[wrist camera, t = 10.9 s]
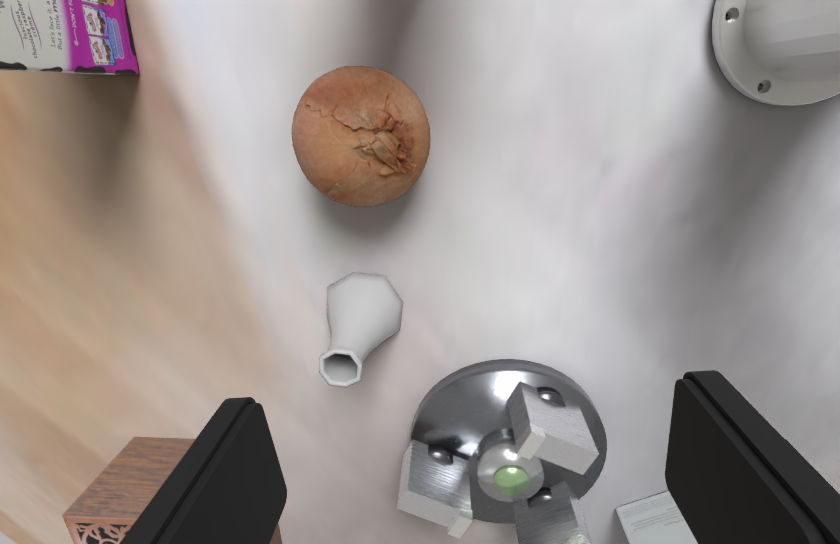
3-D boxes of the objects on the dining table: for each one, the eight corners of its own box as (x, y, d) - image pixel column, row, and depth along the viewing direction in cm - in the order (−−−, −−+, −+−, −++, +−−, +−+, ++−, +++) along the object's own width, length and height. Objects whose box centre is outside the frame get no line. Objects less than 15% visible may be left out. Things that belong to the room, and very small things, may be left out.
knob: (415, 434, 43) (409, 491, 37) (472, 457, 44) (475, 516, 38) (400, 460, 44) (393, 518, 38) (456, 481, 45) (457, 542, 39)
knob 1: (561, 428, 42) (581, 486, 36) (503, 405, 41) (512, 459, 35) (582, 400, 40) (605, 454, 34) (522, 375, 40) (535, 426, 34)
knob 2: (509, 501, 46) (519, 564, 39) (562, 476, 44) (580, 538, 38) (528, 522, 47) (540, 587, 40) (580, 499, 45) (601, 563, 39)
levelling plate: (603, 352, 41) (625, 389, 36) (597, 504, 48) (614, 552, 43) (400, 365, 43) (394, 402, 38) (422, 509, 50) (419, 556, 45)
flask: (411, 334, 42) (401, 403, 32) (338, 346, 43) (307, 416, 33) (393, 263, 39) (375, 316, 30) (316, 278, 40) (276, 333, 31)
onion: (420, 118, 37) (482, 122, 29) (363, 214, 38) (407, 246, 30) (322, 42, 33) (360, 19, 24) (259, 154, 33) (274, 171, 25)
